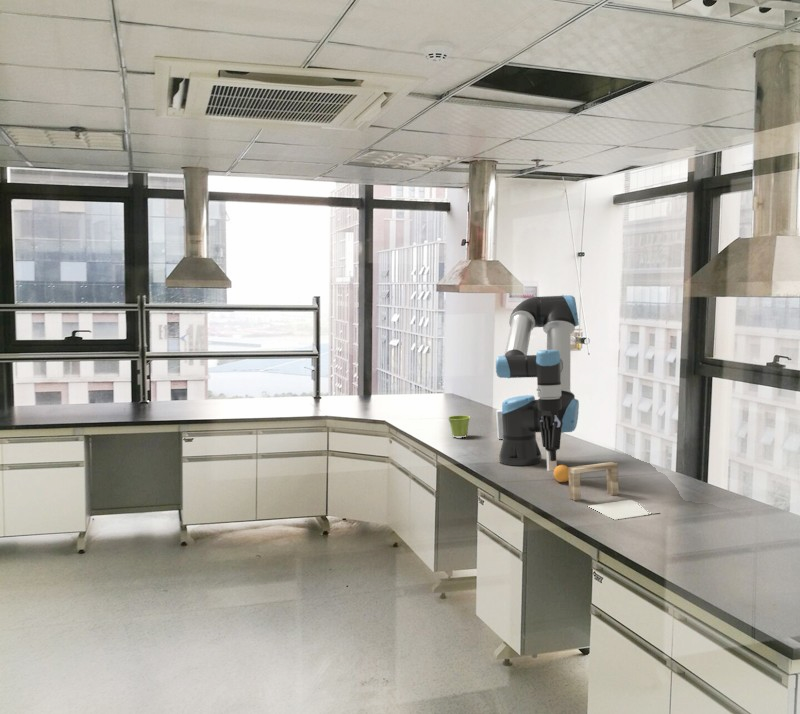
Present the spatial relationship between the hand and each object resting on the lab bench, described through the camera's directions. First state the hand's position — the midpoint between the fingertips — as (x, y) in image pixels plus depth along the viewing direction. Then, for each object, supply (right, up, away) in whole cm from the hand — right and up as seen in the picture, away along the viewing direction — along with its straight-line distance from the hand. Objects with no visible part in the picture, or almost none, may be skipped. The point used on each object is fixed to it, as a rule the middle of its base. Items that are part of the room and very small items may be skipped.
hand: (551, 470), depth 244 cm
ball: (+2, 0, -5) cm, 5 cm away
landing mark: (+12, -5, -37) cm, 39 cm away
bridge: (+8, -4, -23) cm, 25 cm away
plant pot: (-24, +2, +77) cm, 81 cm away
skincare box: (-6, +2, +69) cm, 69 cm away
